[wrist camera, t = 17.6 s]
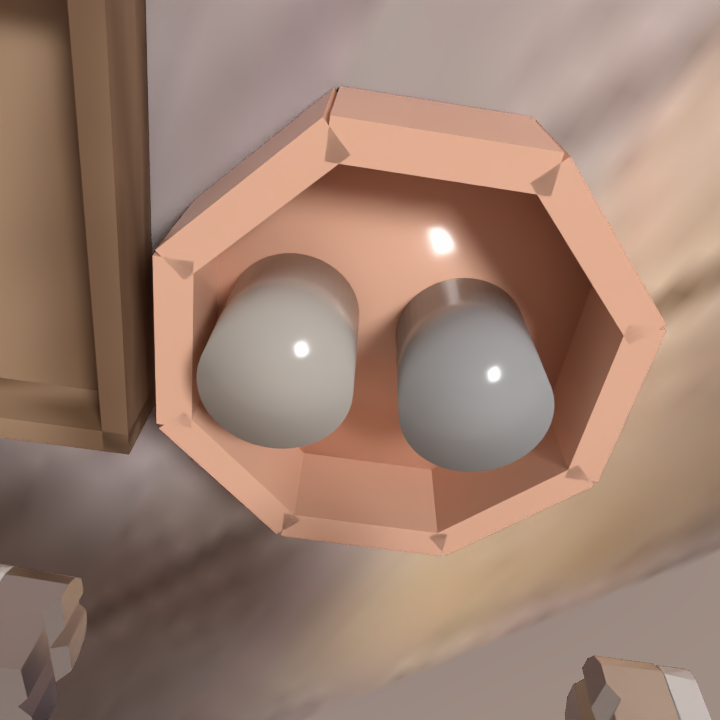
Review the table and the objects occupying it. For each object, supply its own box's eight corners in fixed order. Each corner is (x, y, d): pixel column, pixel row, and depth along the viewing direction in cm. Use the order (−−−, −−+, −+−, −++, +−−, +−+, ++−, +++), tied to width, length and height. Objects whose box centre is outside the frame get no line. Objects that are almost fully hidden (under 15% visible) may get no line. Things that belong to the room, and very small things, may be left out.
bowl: (670, 139, 18) (735, 179, 15) (535, 489, 25) (557, 570, 21) (192, 62, 17) (148, 86, 14) (189, 444, 24) (158, 520, 21)
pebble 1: (371, 268, 19) (367, 337, 16) (346, 378, 21) (337, 460, 18) (236, 240, 19) (202, 304, 15) (223, 355, 21) (191, 433, 18)
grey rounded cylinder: (539, 286, 19) (573, 356, 16) (508, 395, 21) (532, 479, 18) (405, 270, 19) (411, 338, 16) (387, 383, 21) (388, 464, 18)
